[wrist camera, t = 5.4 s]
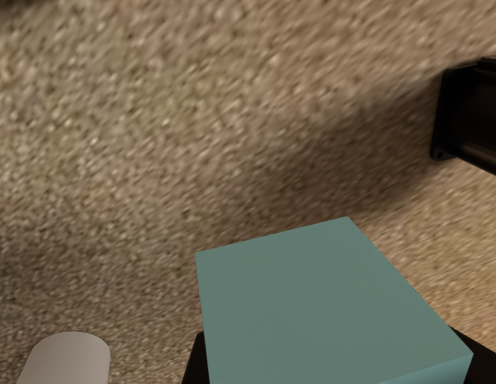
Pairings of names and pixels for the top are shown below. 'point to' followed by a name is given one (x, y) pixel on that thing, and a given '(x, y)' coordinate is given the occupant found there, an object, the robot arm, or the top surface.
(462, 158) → the robot arm
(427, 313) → the teal block
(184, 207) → the top surface
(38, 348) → the white cup
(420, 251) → the top surface
